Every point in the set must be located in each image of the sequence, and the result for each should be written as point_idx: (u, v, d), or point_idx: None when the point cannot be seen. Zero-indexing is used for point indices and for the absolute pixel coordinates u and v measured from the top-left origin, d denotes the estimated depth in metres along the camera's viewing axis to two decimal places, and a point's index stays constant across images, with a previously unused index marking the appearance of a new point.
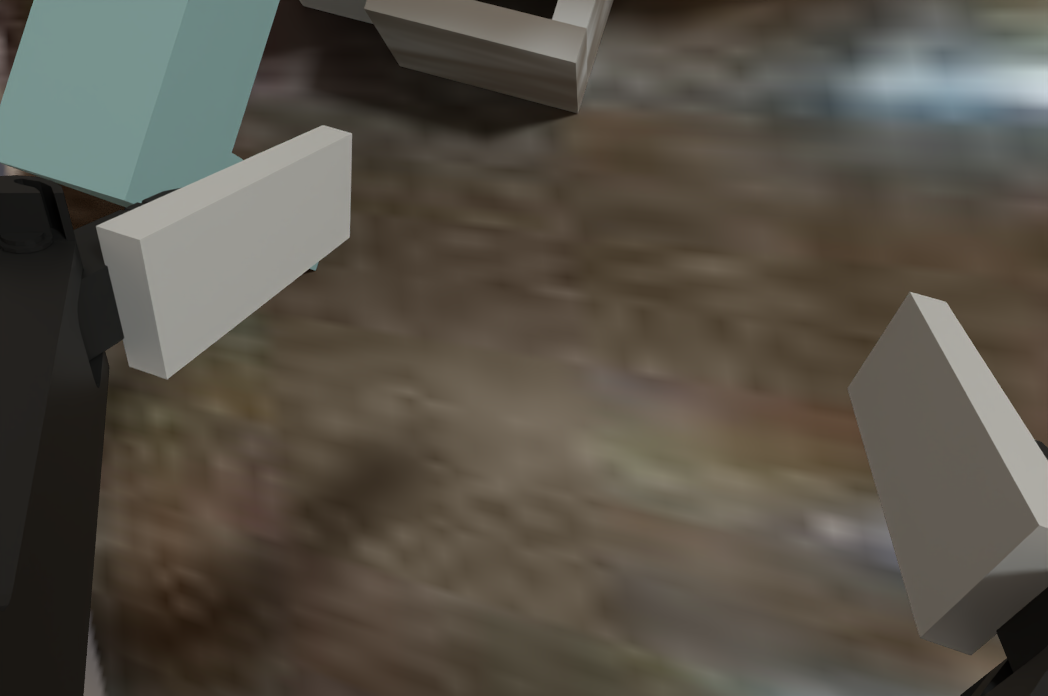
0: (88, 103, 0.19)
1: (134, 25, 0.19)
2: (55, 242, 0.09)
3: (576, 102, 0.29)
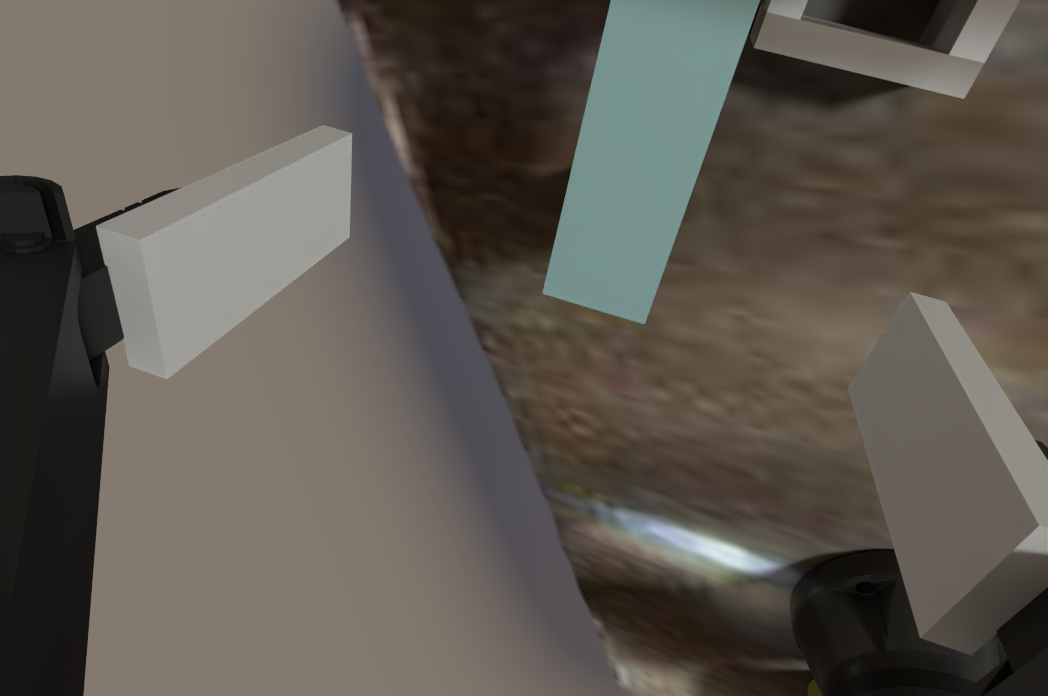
0: (614, 264, 0.27)
1: (647, 212, 0.26)
2: (55, 242, 0.09)
3: None
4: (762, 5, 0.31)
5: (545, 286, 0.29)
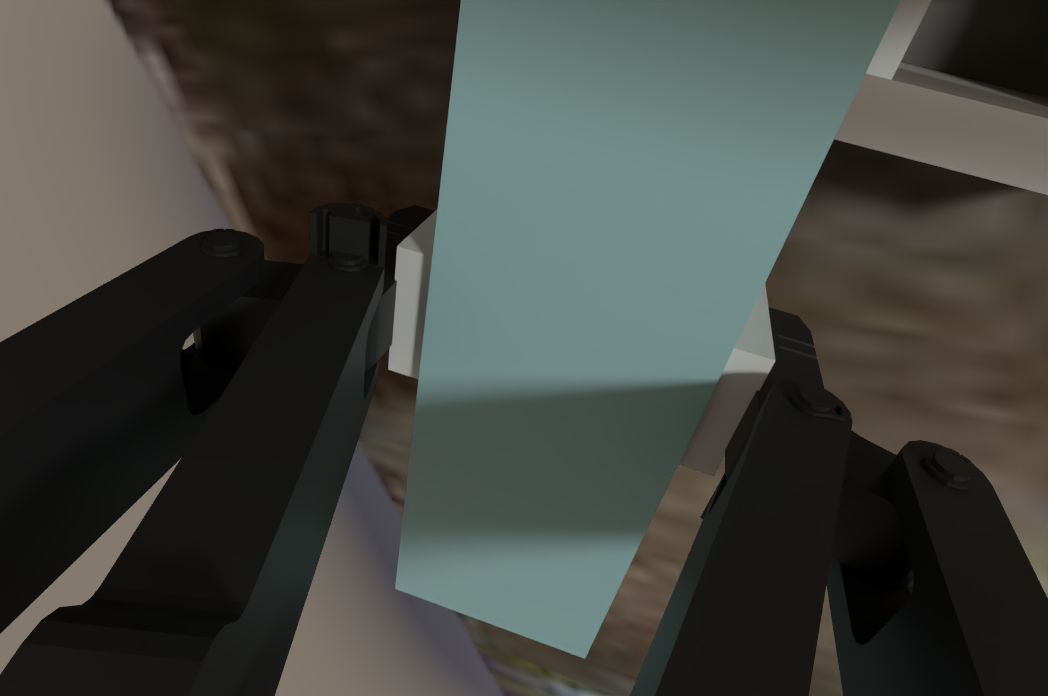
0: (520, 568, 0.14)
1: (578, 500, 0.12)
2: (369, 265, 0.10)
3: None
4: None
5: (398, 579, 0.15)
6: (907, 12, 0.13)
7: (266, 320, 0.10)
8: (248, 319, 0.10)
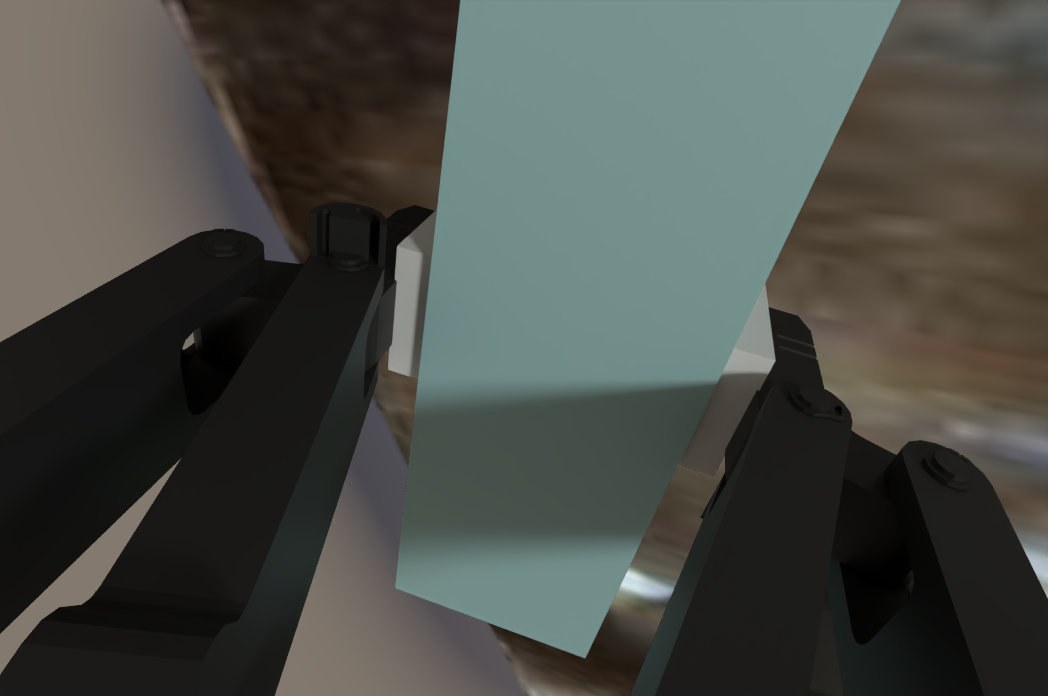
0: (520, 568, 0.14)
1: (578, 499, 0.12)
2: (369, 265, 0.10)
3: None
4: None
5: (398, 579, 0.15)
6: None
7: (266, 320, 0.10)
8: (248, 319, 0.10)
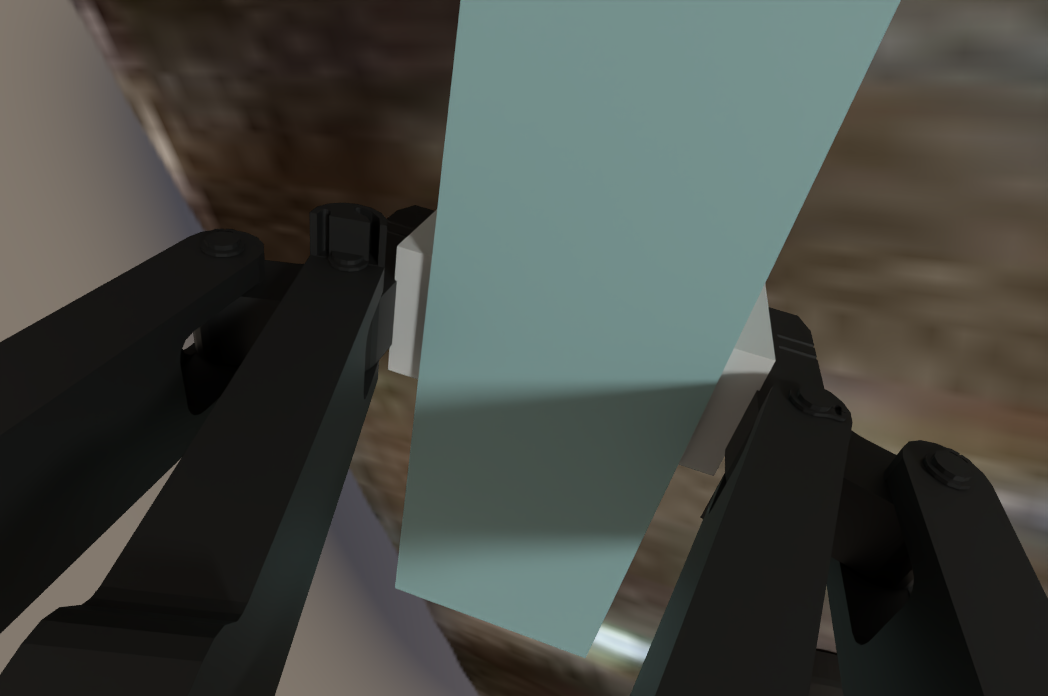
0: (520, 568, 0.14)
1: (578, 499, 0.12)
2: (369, 265, 0.10)
3: None
4: None
5: (398, 579, 0.15)
6: None
7: (266, 320, 0.10)
8: (247, 319, 0.10)
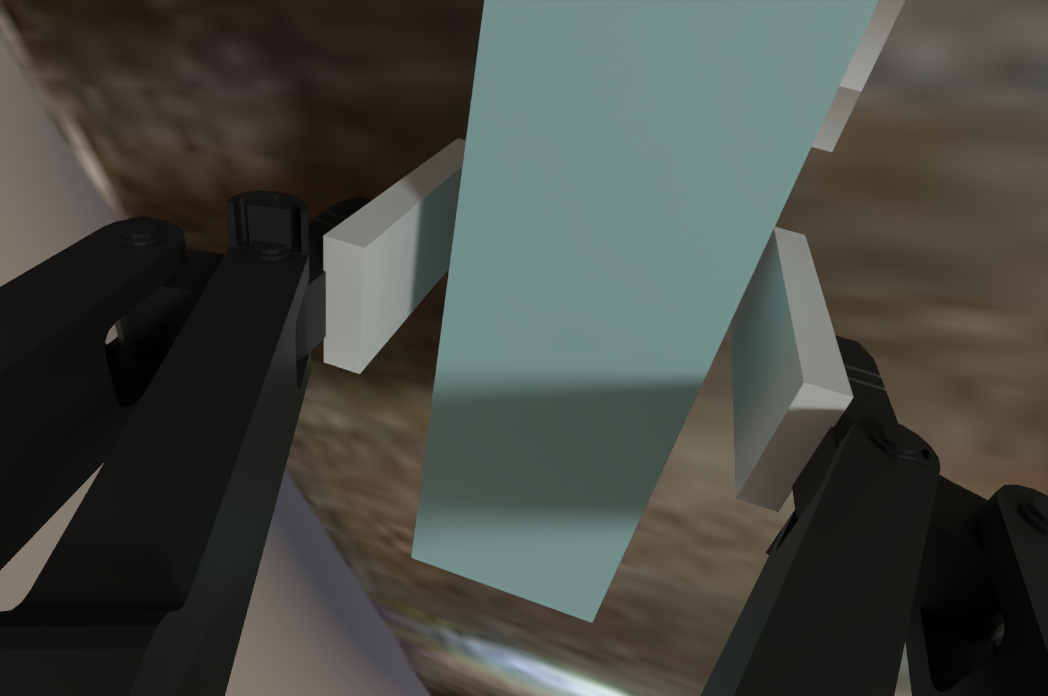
0: (532, 535, 0.15)
1: (587, 467, 0.13)
2: (292, 254, 0.10)
3: None
4: None
5: (414, 548, 0.16)
6: None
7: (186, 310, 0.10)
8: (167, 309, 0.10)
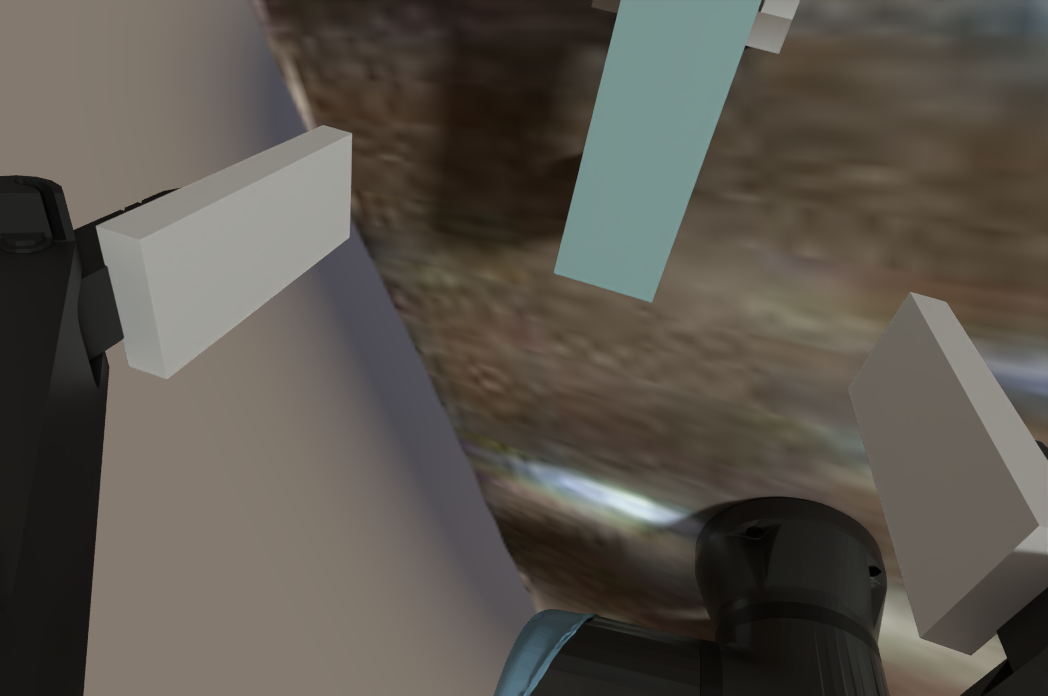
0: (623, 244, 0.29)
1: (655, 194, 0.27)
2: (55, 242, 0.09)
3: None
4: None
5: (556, 265, 0.30)
6: None
7: None
8: None
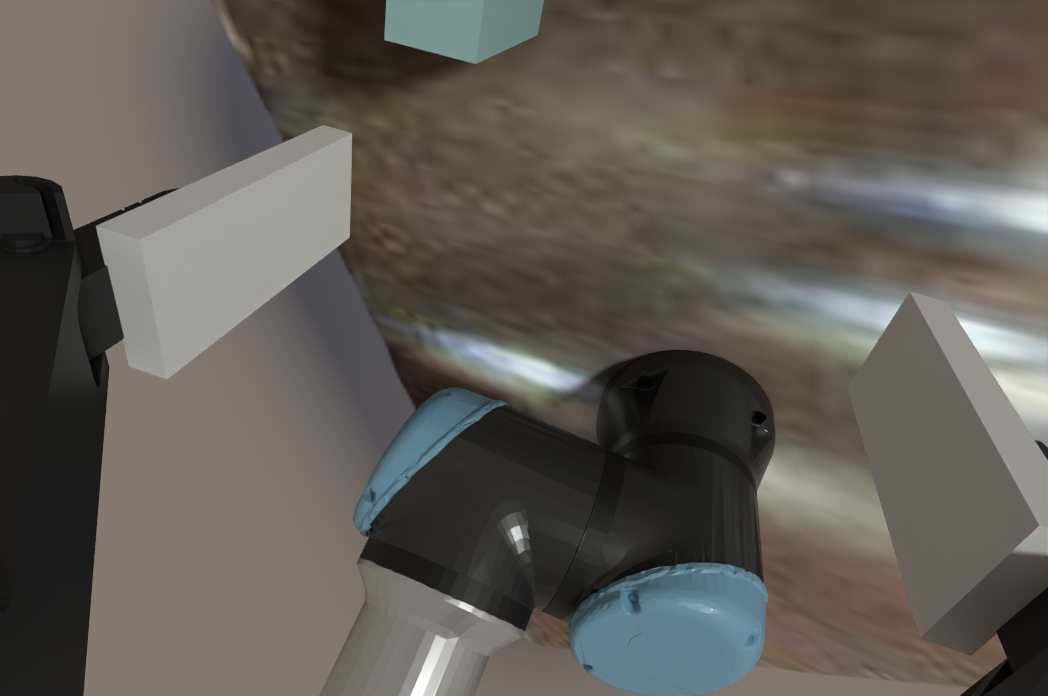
0: None
1: None
2: (55, 242, 0.09)
3: None
4: None
5: (385, 31, 0.31)
6: None
7: None
8: None
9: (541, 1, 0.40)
